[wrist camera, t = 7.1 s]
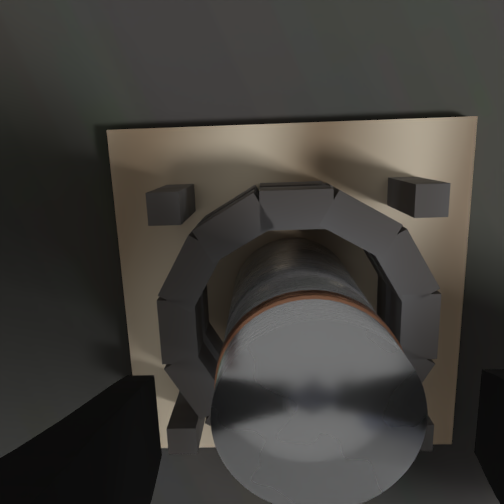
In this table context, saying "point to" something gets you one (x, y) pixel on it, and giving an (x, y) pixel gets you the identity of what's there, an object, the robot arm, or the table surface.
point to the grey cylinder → (312, 383)
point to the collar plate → (290, 226)
